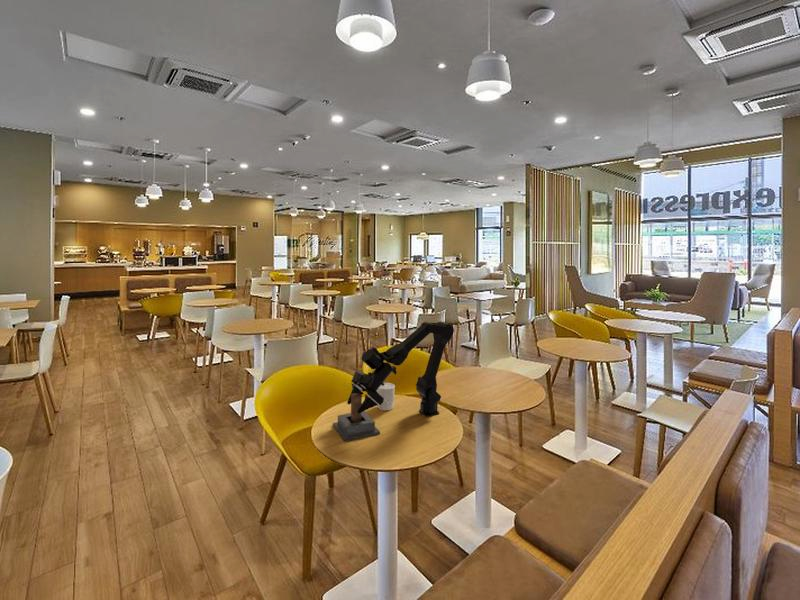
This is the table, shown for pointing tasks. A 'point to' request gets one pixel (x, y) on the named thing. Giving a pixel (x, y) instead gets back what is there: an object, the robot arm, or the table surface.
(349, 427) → the socket
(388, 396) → the white cup
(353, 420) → the peg
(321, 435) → the table surface
